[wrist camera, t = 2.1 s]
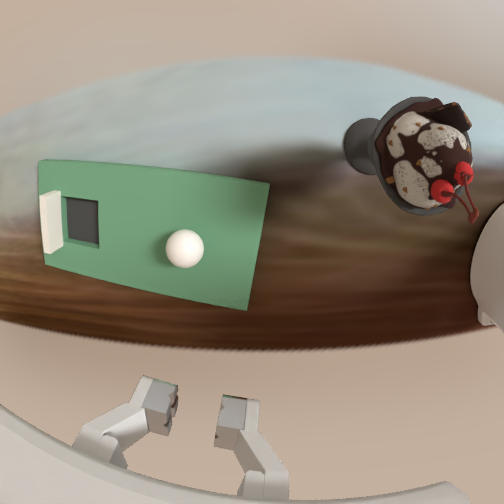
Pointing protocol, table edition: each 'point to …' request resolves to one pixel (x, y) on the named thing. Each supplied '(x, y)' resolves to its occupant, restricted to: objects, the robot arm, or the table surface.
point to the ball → (184, 248)
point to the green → (152, 227)
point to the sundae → (417, 154)
